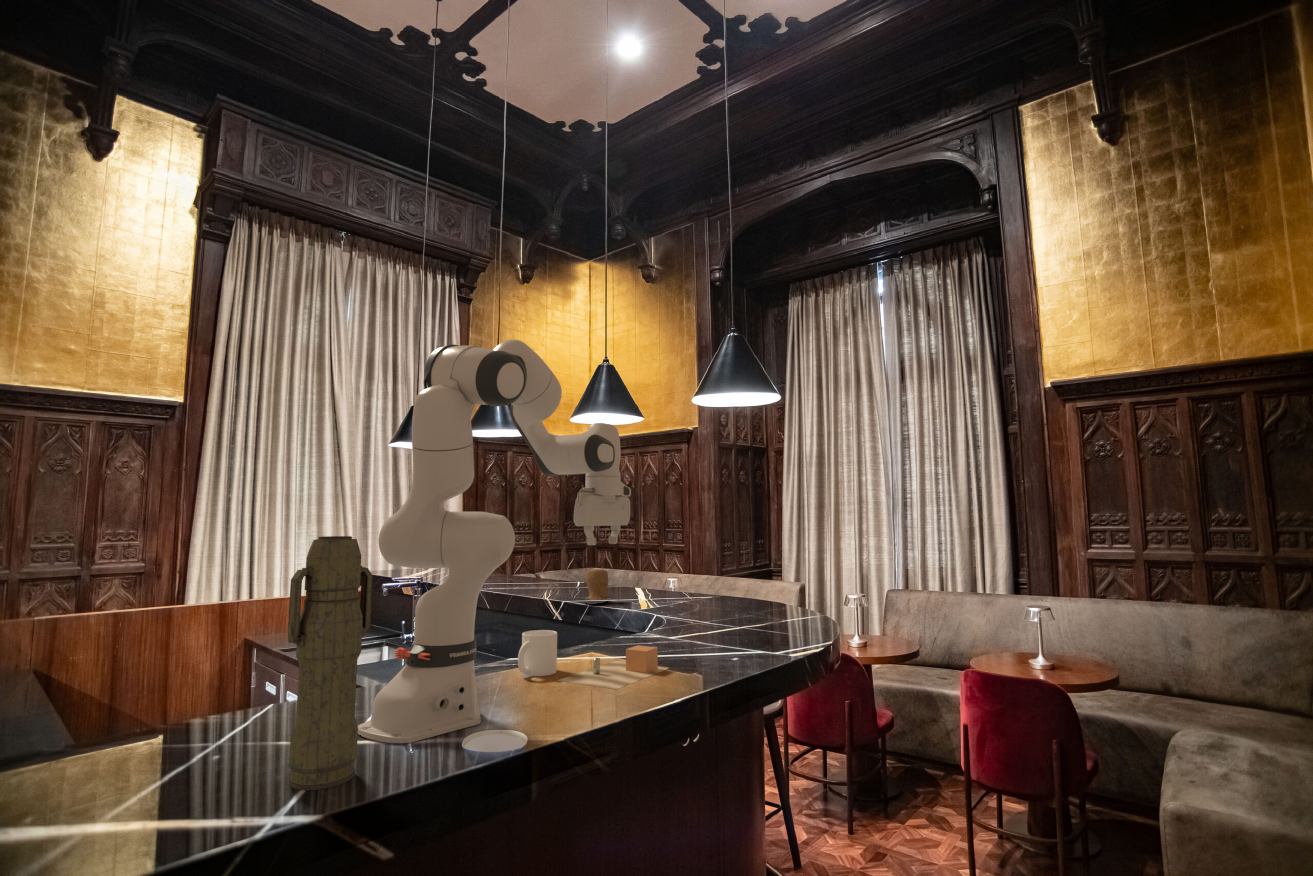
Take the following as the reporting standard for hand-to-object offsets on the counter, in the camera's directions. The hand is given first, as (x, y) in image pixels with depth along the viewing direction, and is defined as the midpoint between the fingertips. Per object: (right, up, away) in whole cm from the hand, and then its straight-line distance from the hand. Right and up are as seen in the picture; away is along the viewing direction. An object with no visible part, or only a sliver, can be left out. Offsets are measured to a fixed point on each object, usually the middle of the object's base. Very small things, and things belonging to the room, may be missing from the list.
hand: (602, 544), depth 168 cm
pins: (+5, -29, -7) cm, 30 cm away
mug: (-15, -31, -9) cm, 35 cm away
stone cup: (-13, -47, +129) cm, 138 cm away
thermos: (-35, -24, -69) cm, 81 cm away
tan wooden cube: (+10, -30, -4) cm, 31 cm away
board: (+4, -30, -9) cm, 32 cm away
